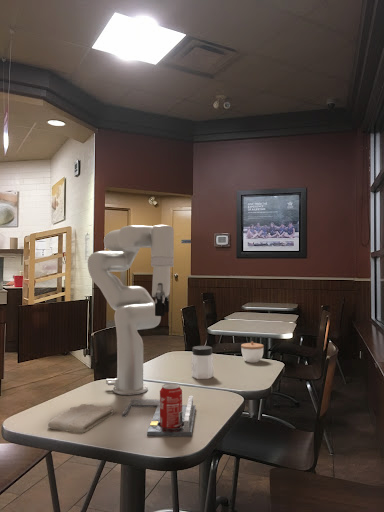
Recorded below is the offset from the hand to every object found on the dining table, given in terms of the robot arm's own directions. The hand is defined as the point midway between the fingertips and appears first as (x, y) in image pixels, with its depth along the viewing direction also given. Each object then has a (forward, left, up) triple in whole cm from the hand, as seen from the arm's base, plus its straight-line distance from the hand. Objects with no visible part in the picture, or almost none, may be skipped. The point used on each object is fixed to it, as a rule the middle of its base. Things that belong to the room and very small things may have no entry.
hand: (162, 314), depth 146 cm
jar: (+12, +37, -30) cm, 49 cm away
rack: (+5, -15, -30) cm, 34 cm away
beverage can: (+5, -21, -30) cm, 37 cm away
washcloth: (-22, -15, -31) cm, 41 cm away
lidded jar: (+35, +67, -30) cm, 82 cm away
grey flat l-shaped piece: (-5, -4, -30) cm, 31 cm away
